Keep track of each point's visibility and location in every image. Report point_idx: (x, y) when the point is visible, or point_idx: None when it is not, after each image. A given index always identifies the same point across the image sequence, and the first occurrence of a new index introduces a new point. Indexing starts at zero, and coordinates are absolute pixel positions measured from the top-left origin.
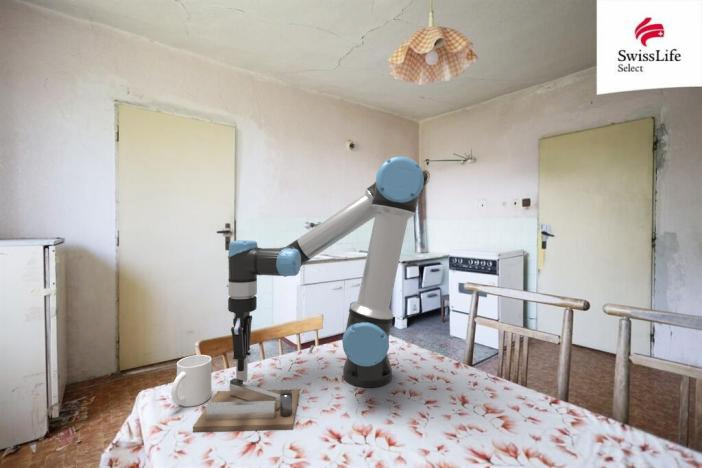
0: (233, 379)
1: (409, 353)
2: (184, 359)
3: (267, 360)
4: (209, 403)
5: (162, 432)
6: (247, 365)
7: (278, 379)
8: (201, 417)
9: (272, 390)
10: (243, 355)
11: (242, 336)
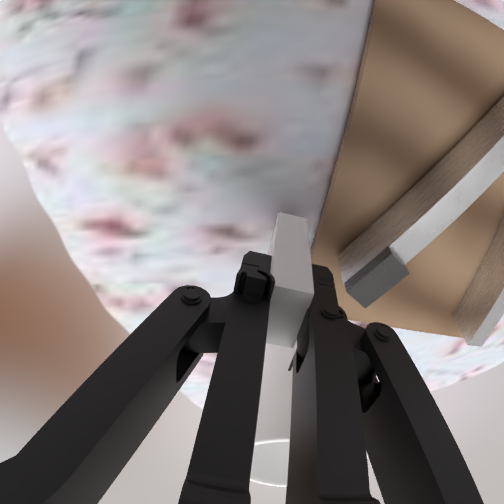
0: (359, 295)
1: None
2: (254, 476)
3: (13, 130)
4: (474, 341)
5: (430, 379)
6: (277, 249)
7: (197, 49)
8: (447, 330)
9: (364, 84)
10: (391, 345)
11: (460, 501)
